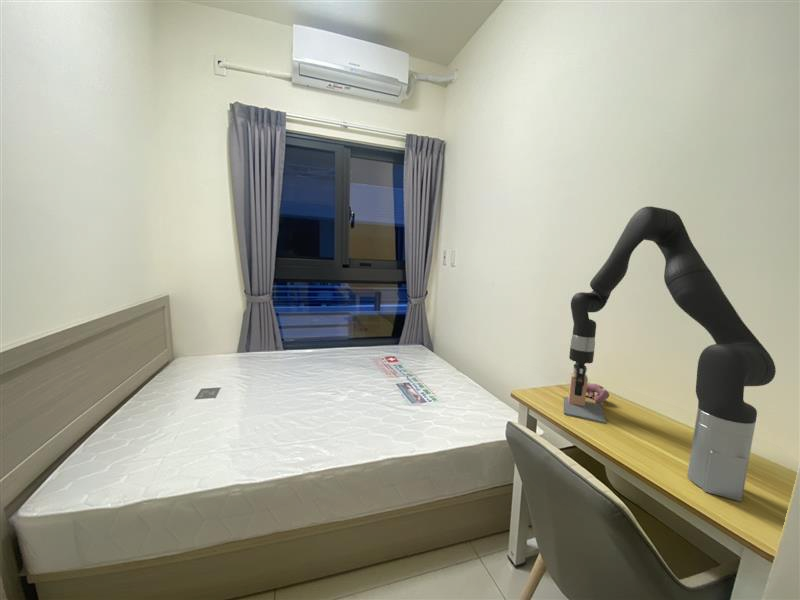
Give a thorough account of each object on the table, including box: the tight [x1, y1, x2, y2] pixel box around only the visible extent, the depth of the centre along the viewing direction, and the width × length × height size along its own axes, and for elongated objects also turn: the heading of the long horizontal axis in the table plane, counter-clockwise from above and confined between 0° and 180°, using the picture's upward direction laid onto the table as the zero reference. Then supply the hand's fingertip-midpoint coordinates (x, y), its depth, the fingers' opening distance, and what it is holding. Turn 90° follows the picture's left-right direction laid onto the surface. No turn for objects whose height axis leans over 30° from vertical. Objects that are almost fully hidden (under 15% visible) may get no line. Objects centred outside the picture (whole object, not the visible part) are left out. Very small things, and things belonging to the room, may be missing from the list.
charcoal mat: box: [563, 396, 607, 424], centre depth 112 cm, size 16×12×1 cm
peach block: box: [568, 372, 589, 407], centre depth 116 cm, size 5×5×10 cm
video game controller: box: [586, 382, 610, 405], centre depth 122 cm, size 10×5×7 cm, turn 13°
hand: (577, 391), depth 116 cm, fingers open, 8 cm apart
